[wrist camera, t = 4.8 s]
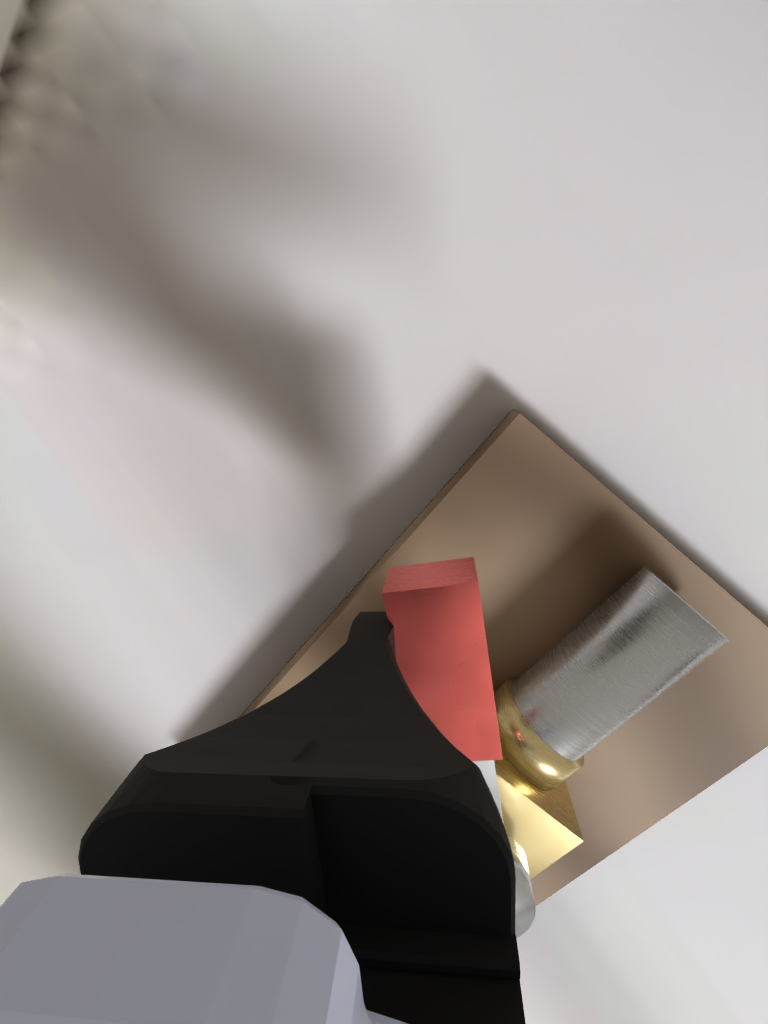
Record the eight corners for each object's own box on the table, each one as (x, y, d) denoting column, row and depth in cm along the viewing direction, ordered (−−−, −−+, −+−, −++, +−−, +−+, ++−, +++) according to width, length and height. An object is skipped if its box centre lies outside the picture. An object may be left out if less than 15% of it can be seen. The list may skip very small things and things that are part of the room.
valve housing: (364, 894, 21) (347, 1009, 17) (291, 842, 20) (257, 947, 16) (705, 616, 15) (789, 693, 12) (615, 539, 15) (672, 594, 11)
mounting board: (438, 935, 23) (437, 973, 21) (198, 763, 21) (181, 791, 20) (809, 665, 17) (844, 693, 15) (512, 409, 16) (519, 413, 14)
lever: (530, 888, 14) (541, 952, 12) (441, 890, 14) (441, 952, 13) (486, 552, 11) (493, 580, 10) (377, 565, 12) (368, 595, 10)
